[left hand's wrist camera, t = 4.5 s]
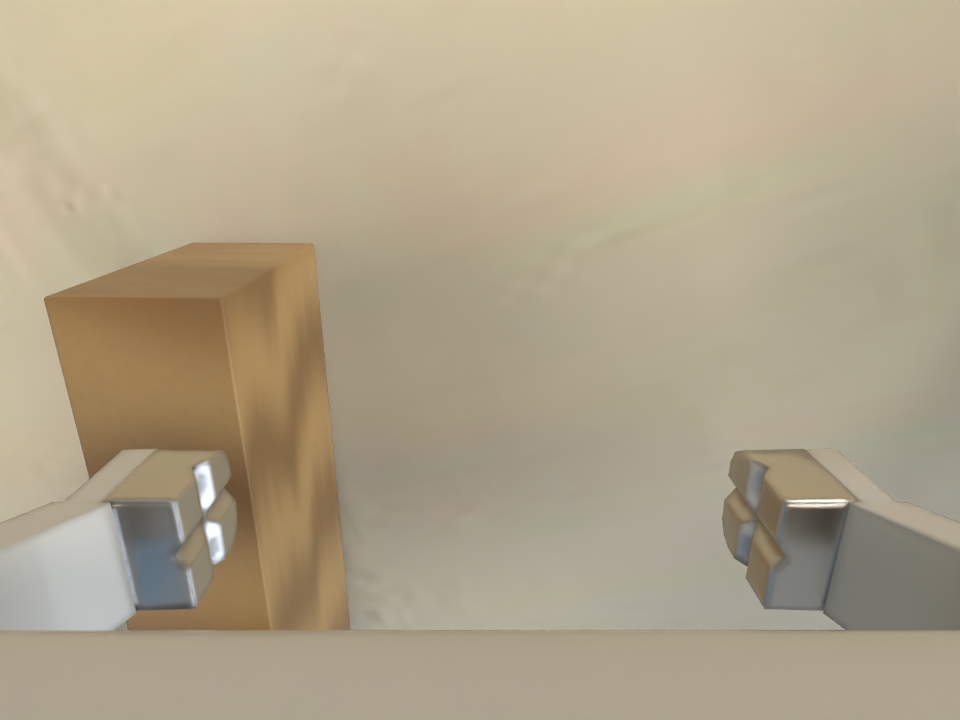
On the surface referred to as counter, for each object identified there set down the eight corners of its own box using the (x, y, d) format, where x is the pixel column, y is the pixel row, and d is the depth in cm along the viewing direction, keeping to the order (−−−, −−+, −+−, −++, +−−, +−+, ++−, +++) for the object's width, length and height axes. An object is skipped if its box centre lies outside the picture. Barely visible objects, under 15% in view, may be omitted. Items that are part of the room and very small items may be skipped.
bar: (191, 242, 27) (42, 297, 18) (314, 243, 27) (221, 299, 18) (266, 696, 36) (190, 875, 27) (357, 699, 36) (309, 881, 27)
